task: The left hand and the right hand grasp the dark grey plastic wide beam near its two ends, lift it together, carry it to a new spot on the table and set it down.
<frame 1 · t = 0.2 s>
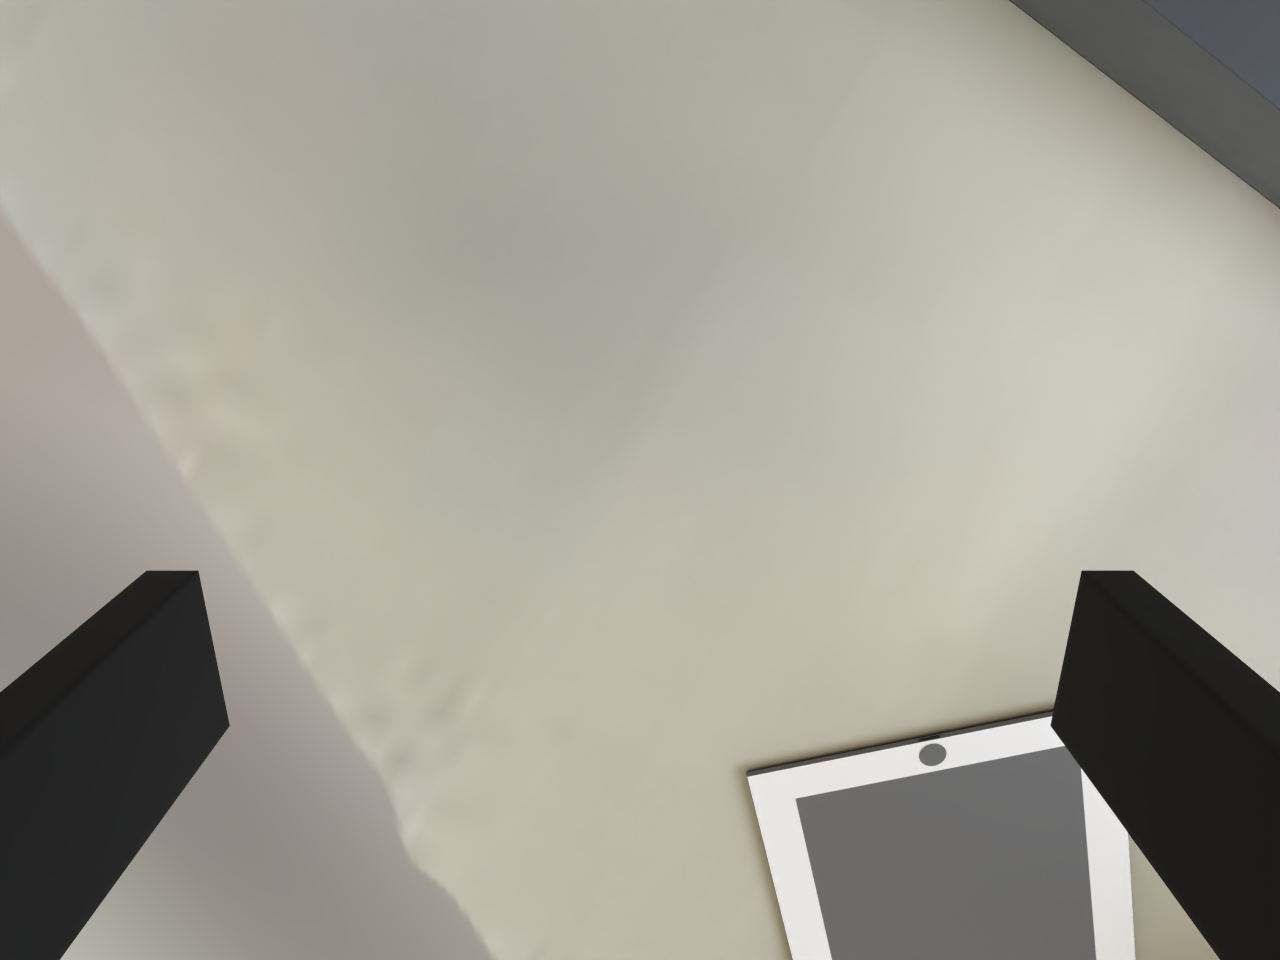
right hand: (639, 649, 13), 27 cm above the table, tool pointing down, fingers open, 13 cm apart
tablet: (958, 945, 52), on the table
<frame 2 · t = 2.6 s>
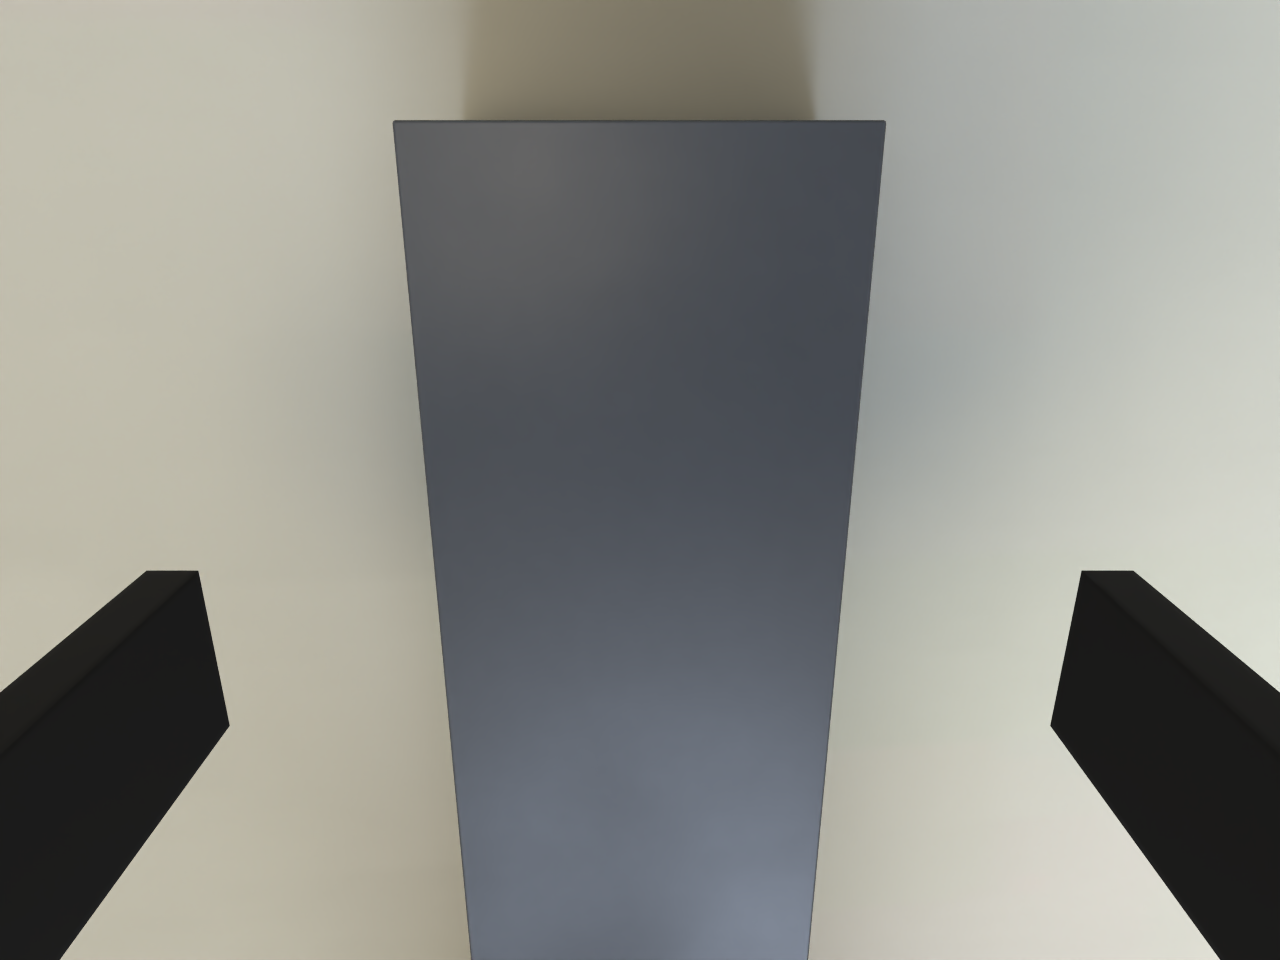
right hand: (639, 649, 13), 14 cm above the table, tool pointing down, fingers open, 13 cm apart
wide beam: (639, 955, 33), on the table, touching left hand
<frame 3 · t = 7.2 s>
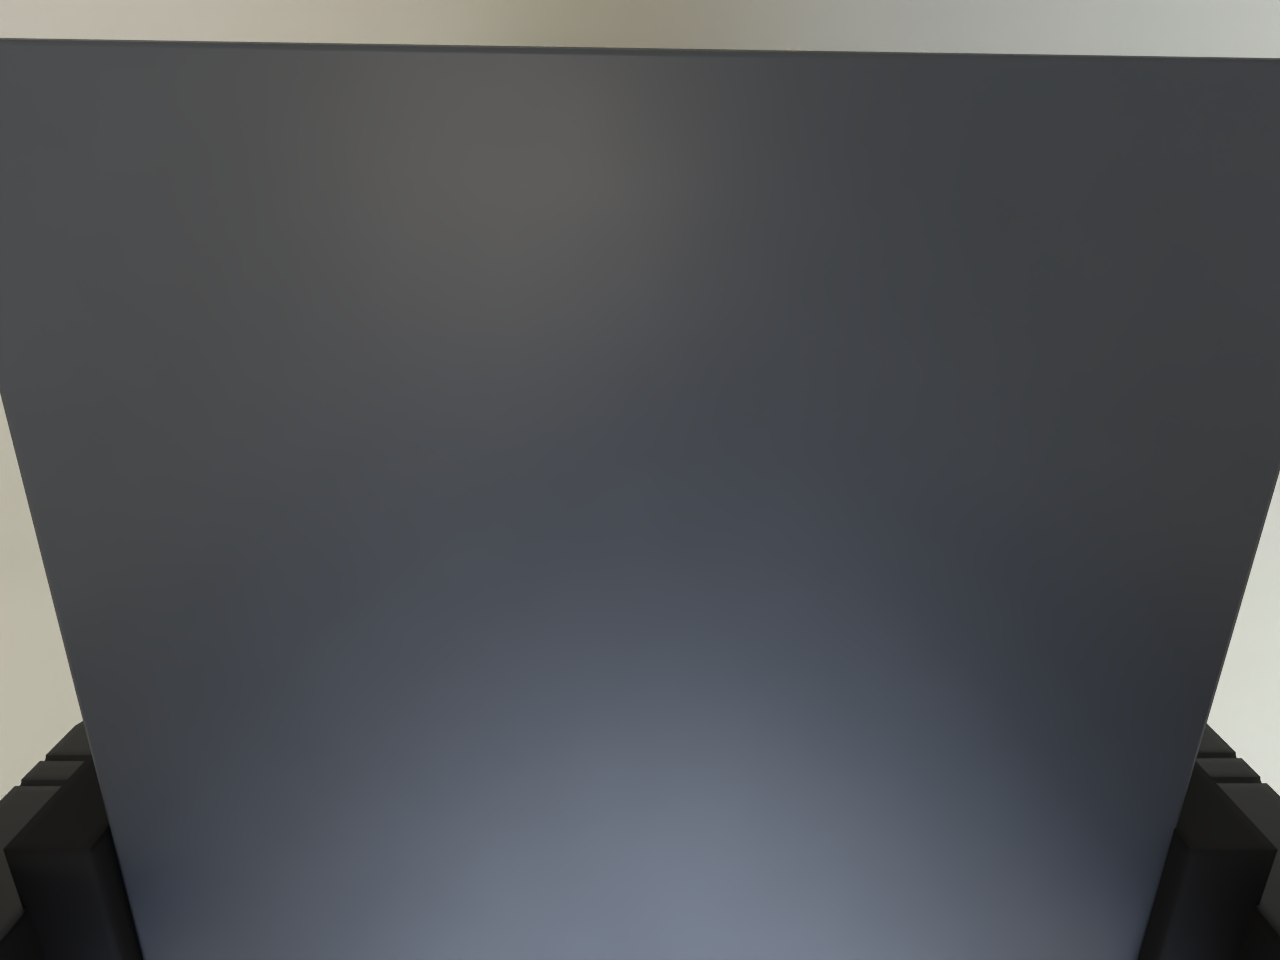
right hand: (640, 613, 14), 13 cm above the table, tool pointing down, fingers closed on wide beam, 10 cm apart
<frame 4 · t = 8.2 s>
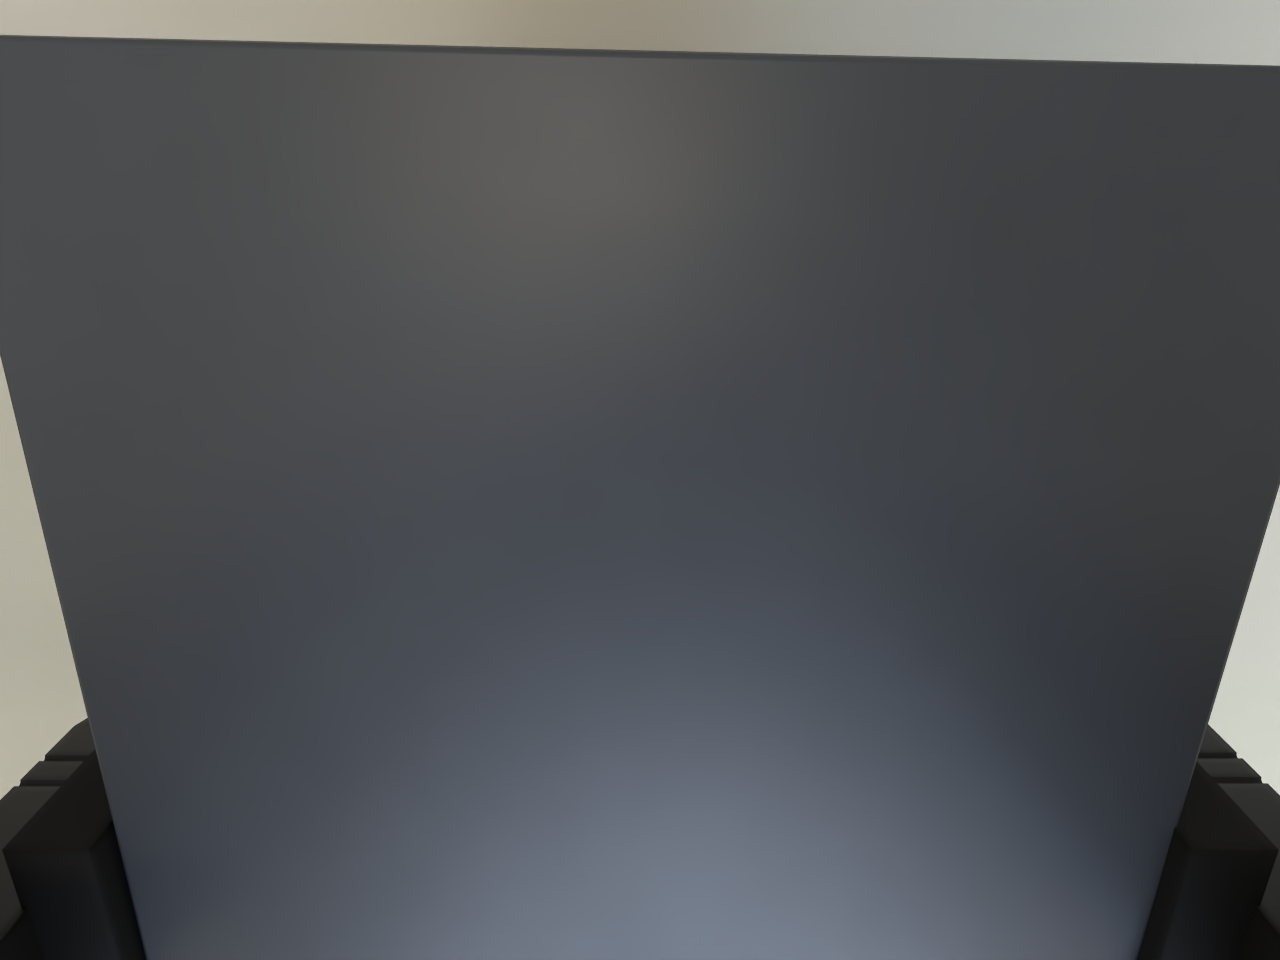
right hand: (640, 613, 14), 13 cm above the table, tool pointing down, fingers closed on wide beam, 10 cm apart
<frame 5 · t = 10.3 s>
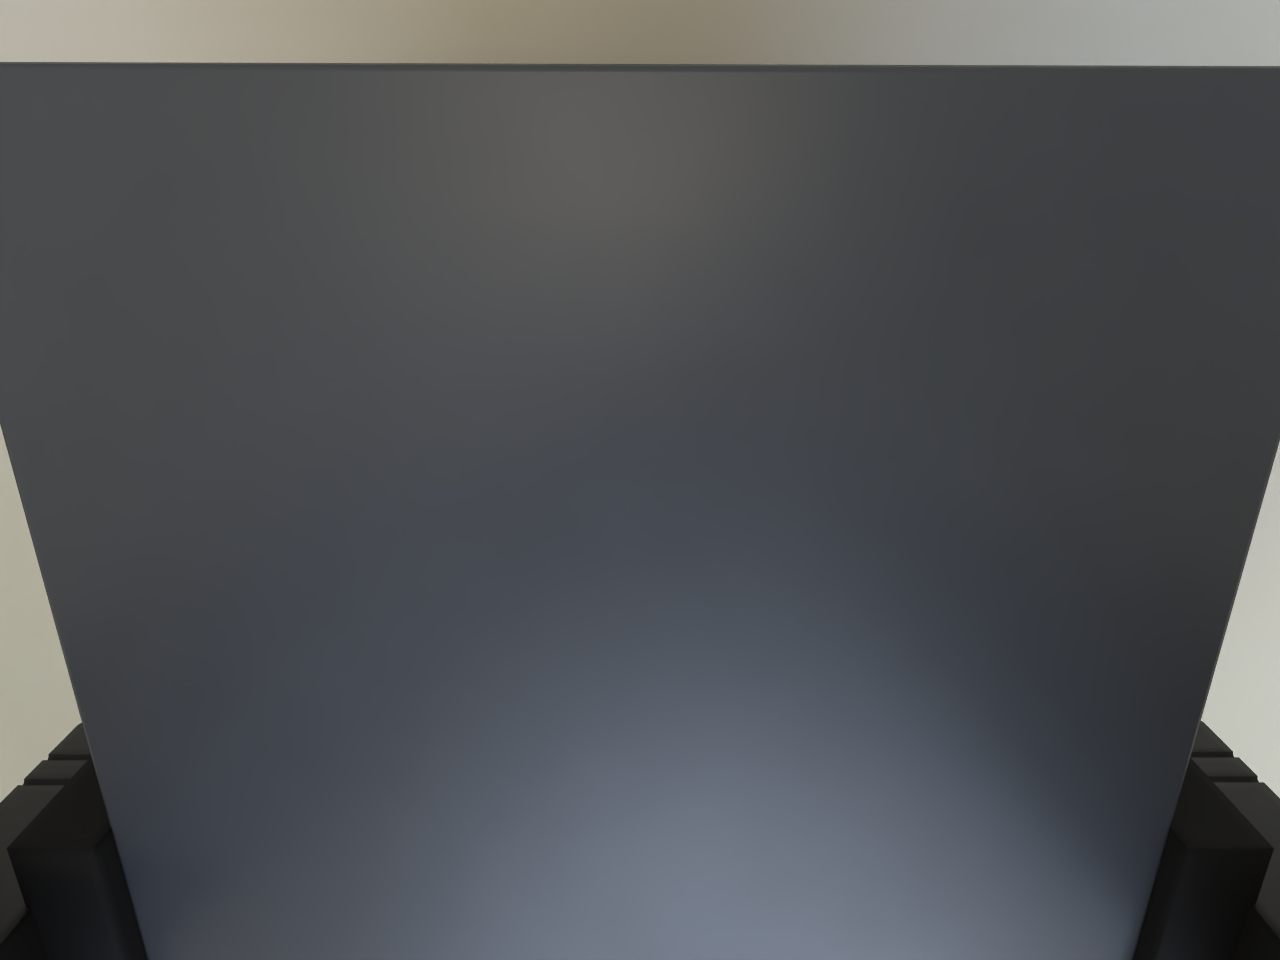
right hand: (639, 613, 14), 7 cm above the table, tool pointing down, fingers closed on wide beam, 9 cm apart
when the left hand's fingers open (2 cm above the table, at t = 11.8 s): wide beam stays where it is, on the table.
when the right hand's fingers open (2 cm above the table, at t = 11.8 s): wide beam stays where it is, on the table.
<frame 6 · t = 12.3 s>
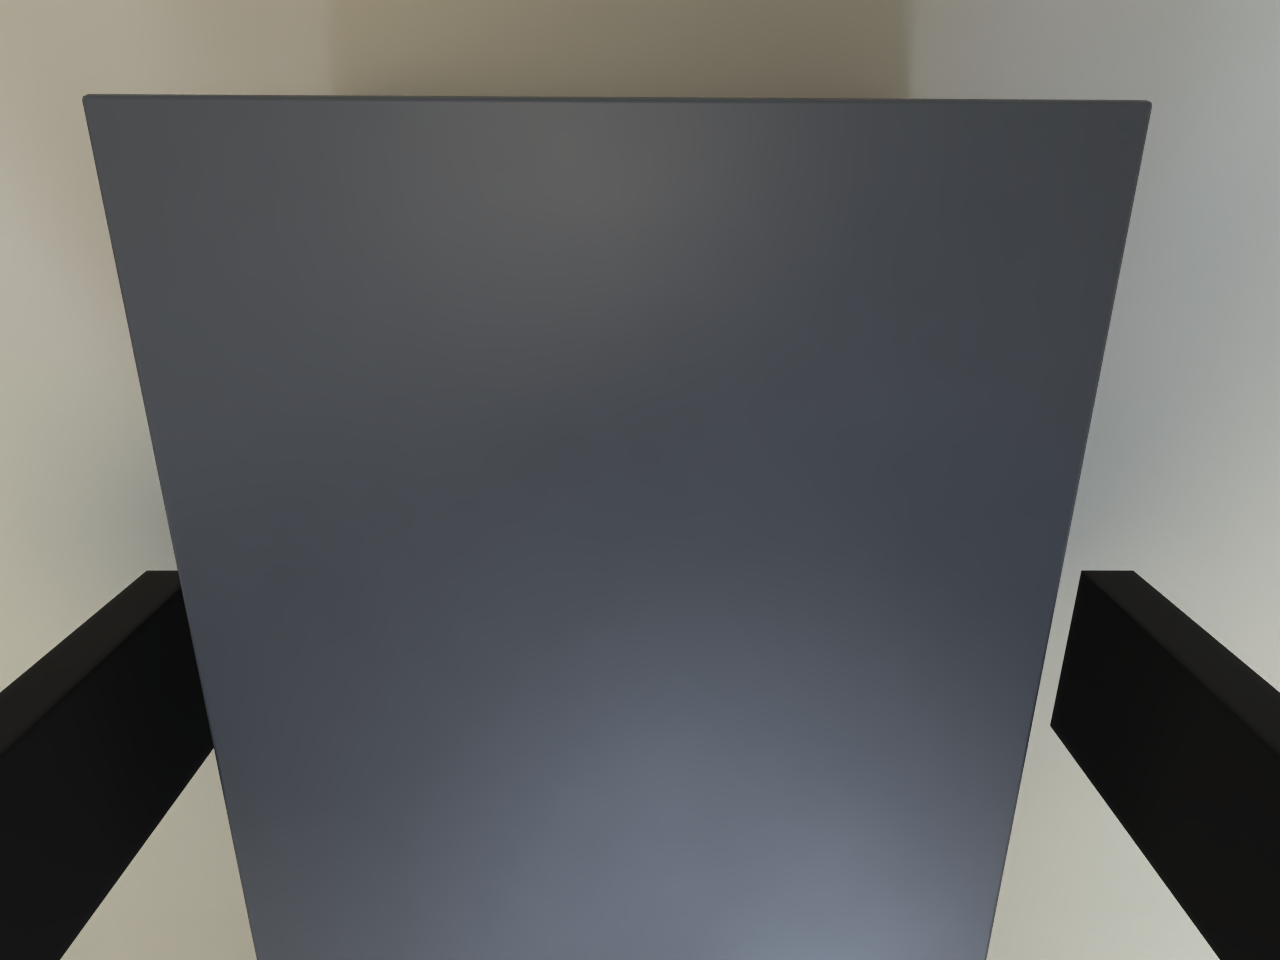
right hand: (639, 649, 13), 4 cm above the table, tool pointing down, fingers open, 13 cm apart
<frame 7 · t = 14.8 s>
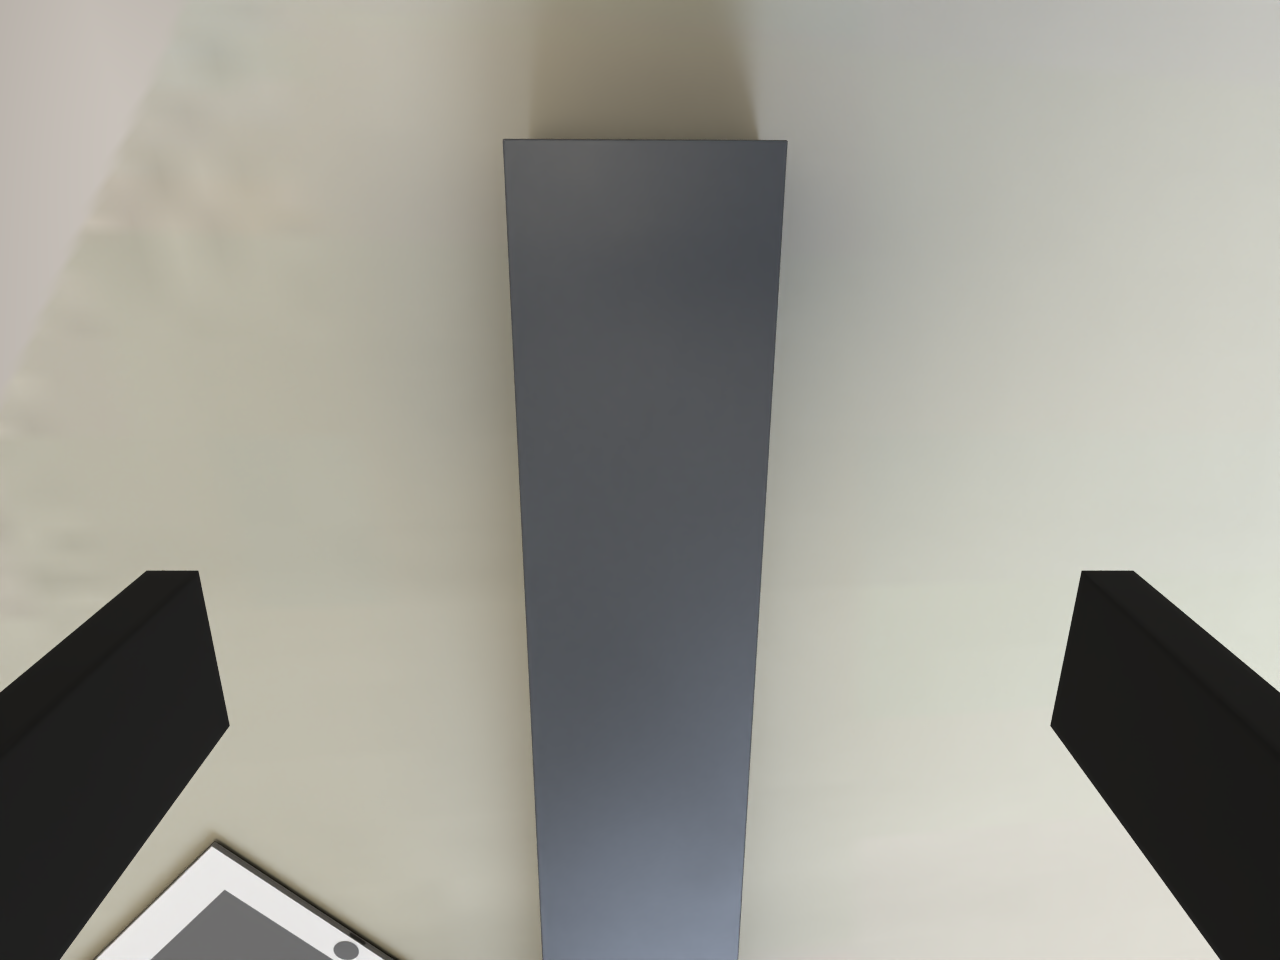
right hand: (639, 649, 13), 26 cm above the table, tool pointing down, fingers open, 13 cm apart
wide beam: (640, 745, 45), on the table
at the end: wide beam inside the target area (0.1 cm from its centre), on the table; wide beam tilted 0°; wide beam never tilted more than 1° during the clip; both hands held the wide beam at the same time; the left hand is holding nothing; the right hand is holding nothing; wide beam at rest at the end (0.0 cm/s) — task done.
